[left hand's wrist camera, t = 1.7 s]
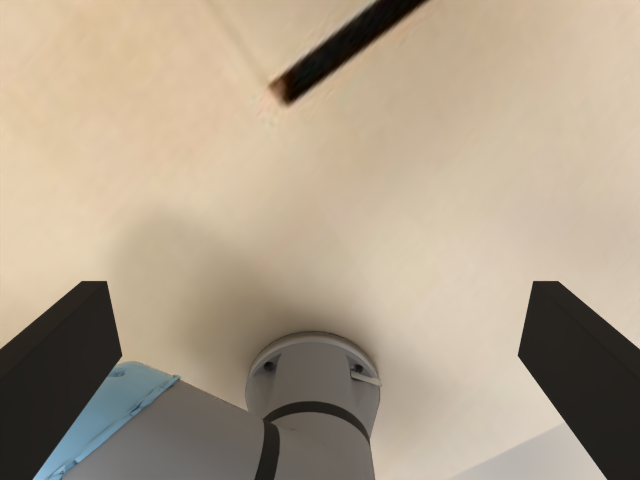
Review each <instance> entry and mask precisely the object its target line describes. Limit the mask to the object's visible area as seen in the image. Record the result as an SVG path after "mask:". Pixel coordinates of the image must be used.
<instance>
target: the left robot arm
mask: <svg viewBox="0 0 640 480" xmlns="http://www.w3.org/2000/svg"><path fill="white" fill-rule="evenodd" d="M121 357H122V352H121V347H120V342H119V337H118V333H117V328H116V323H115V318H114V314H113V309H112V304H111V299H110V294H109V290H108V285H107V281H81V282H80V283H79V284H78V285H77V286H75V287H74V288H73V289H72V290H71V291H69V292H68V293H67V294H66V295H65V296H64V297H62V298H61V299H60V300H59V301H58V302H56V303H55V304H54V305H53V306H52V307H50V308H49V309H48V310H47V311H46V312H44V313H43V314H42V315H41V316H40V317H38V318H37V319H36V320H35V321H34V322H32V323H31V324H30V325H29V326H28V327H26V328H25V329H24V330H23V331H22V332H20V333H19V334H18V335H17V336H16V337H14V338H13V339H12V340H11V341H10V342H9V343H7V344H6V345H5V346H4V347H3V348H1V349H0V480H375V475H374V468H373V461H372V454H371V447H370V436H371V432H372V429H373V425H374V421H375V417H376V413H377V410H378V406H379V402H380V388H379V386H382V385H381V380H380V379H378V377H377V373H376V370H375V367H374V365H373V363H372V361H371V360H370V358H369V357H368V356H367V355H366V353H365V352H364V351H363V350H362V349H360V348H359V347H358V346H357V345H355V344H354V343H352V342H350V341H348V340H347V339H344V338H342V337H340V336H337V335H333V334H329V333H323V332H301V333H295V334H291V335H288V336H285V337H282V338H280V339H278V340H276V341H274V342H273V343H271V344H270V345H268V346H267V347H266V348H265V349H264V350H262V351H261V353H260V354H259V355H258V356H257V357H256V359H255V360H254V362H253V364H252V366H251V369H250V372H249V376H248V380H247V384H246V390H245V397H246V403H247V408H248V411H245V410H243V409H241V408H239V407H237V406H234V405H232V404H230V403H228V402H226V401H224V400H221V399H219V398H217V397H215V396H213V395H211V394H208V393H206V392H204V391H202V390H200V389H198V388H196V387H194V386H192V385H190V384H188V383H186V382H184V381H181V380H179V379H180V378H181V377H180V376H178V375H173V376H172V375H169V374H167V373H164V372H162V371H159V370H157V369H154V368H152V367H149V366H147V365H144V364H142V363H139V362H124V363H120V364H118V365H116V364H117V362H118V361H119V360H120V358H121ZM518 357H519V358H520V360H521V361H522V362H523V364H524V365H525V366H526V368H527V369H528V371H529V372H530V373H531V375H532V376H533V378H534V379H535V380H536V382H537V383H538V384H539V386H540V387H541V389H542V390H543V391H544V393H545V394H546V396H547V397H548V398H549V400H550V401H551V402H552V404H553V405H554V407H555V408H556V409H557V411H558V412H559V414H560V415H561V416H562V418H563V419H564V420H565V422H566V423H567V425H568V426H569V427H570V429H571V430H572V432H573V433H574V434H575V436H576V437H577V438H578V440H579V441H580V443H581V444H582V445H583V447H584V448H585V449H586V451H587V452H588V454H589V455H590V456H591V458H592V459H593V461H594V462H595V463H596V465H597V466H598V467H599V469H600V470H601V472H602V473H603V474H604V476H605V477H606V479H607V480H640V349H639V348H637V347H636V346H635V345H634V344H633V343H631V342H630V341H629V340H628V339H627V338H626V337H624V336H623V335H622V334H621V333H620V332H618V331H617V330H616V329H615V328H614V327H612V326H611V325H610V324H609V323H608V322H606V321H605V320H604V319H603V318H602V317H600V316H599V315H598V314H597V313H596V312H594V311H593V310H592V309H591V308H590V307H588V306H587V305H586V304H585V303H584V302H582V301H581V300H580V299H579V298H578V297H576V296H575V295H574V294H573V293H572V292H571V291H569V290H568V289H567V288H566V287H565V286H563V285H562V284H561V283H560V282H559V281H533V285H532V290H531V294H530V299H529V304H528V309H527V314H526V318H525V323H524V328H523V333H522V337H521V342H520V347H519V352H518ZM115 365H116V366H115Z"/></svg>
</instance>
